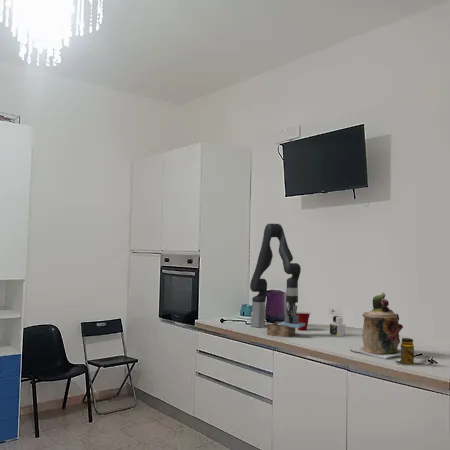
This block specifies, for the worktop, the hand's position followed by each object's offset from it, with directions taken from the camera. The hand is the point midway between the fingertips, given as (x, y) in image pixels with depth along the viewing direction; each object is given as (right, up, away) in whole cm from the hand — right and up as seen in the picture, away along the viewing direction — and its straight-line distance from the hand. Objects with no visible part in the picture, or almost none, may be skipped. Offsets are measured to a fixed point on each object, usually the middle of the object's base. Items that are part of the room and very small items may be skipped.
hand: (291, 322), depth 313 cm
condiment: (+46, -6, -70) cm, 84 cm away
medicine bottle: (+30, -10, +5) cm, 32 cm away
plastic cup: (+10, -10, +24) cm, 28 cm away
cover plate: (0, -2, 0) cm, 2 cm away
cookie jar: (+42, -8, -46) cm, 63 cm away
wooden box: (-6, -8, +3) cm, 11 cm away
